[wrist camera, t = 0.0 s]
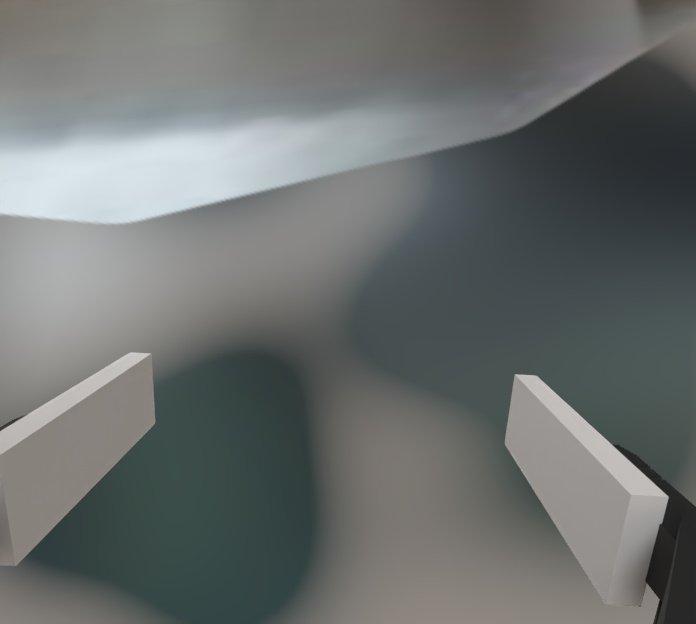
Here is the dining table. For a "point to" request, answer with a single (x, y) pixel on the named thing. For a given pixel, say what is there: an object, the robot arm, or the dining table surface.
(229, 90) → the dining table surface
